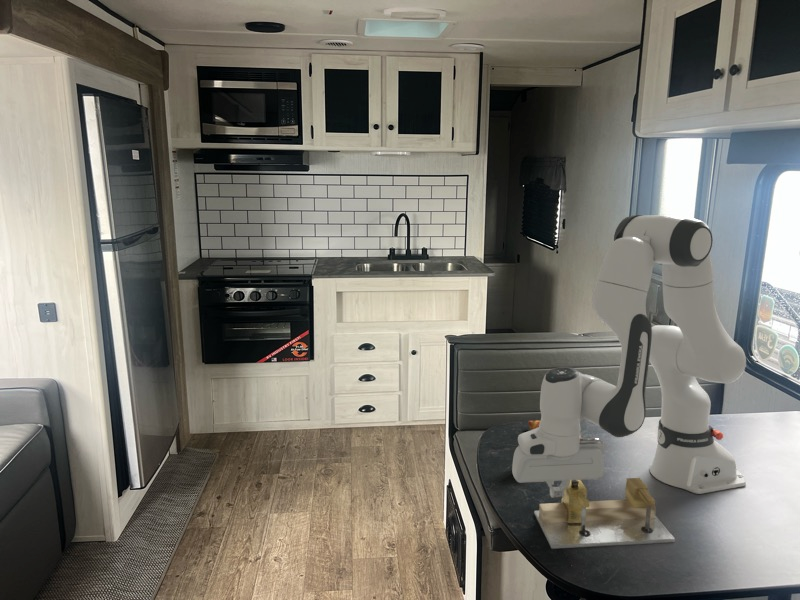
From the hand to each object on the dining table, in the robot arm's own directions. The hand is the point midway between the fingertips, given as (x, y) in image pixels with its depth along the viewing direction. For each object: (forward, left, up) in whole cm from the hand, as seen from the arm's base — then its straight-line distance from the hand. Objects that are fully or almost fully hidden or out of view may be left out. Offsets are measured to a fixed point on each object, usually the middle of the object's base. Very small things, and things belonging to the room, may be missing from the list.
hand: (556, 495), depth 134 cm
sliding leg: (-4, +2, -5) cm, 7 cm away
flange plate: (-9, +3, -6) cm, 12 cm away
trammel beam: (-10, +3, -6) cm, 11 cm away
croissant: (-13, -39, -7) cm, 42 cm away
